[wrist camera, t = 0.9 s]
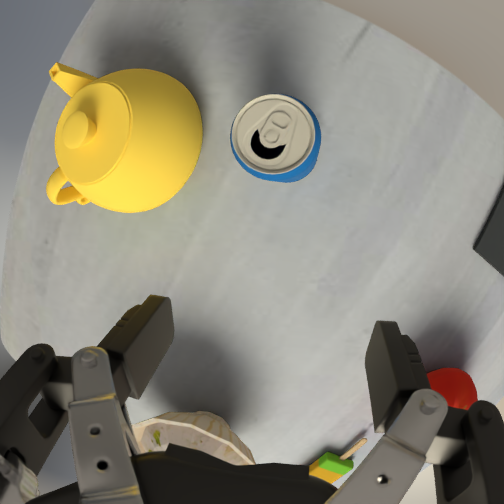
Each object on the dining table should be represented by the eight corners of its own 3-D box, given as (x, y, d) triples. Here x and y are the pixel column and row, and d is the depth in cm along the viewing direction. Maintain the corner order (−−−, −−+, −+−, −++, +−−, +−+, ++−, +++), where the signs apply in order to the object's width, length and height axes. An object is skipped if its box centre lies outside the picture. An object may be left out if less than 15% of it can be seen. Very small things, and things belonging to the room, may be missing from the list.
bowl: (287, 459, 40) (279, 507, 30) (185, 464, 45) (165, 503, 35) (242, 368, 37) (222, 419, 28) (131, 384, 42) (97, 422, 32)
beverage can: (245, 162, 32) (208, 151, 20) (275, 111, 30) (255, 73, 18) (297, 194, 31) (289, 198, 20) (328, 142, 30) (339, 117, 18)
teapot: (239, 146, 31) (195, 125, 19) (126, 248, 37) (57, 275, 25) (146, 40, 30) (87, 0, 18) (58, 139, 36) (-9, 135, 23)
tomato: (480, 362, 31) (506, 397, 23) (436, 427, 34) (449, 466, 26) (412, 344, 32) (432, 383, 24) (367, 416, 36) (374, 460, 27)
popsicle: (293, 476, 41) (292, 484, 39) (351, 429, 37) (352, 438, 35) (319, 485, 40) (318, 493, 39) (378, 440, 36) (379, 448, 34)
